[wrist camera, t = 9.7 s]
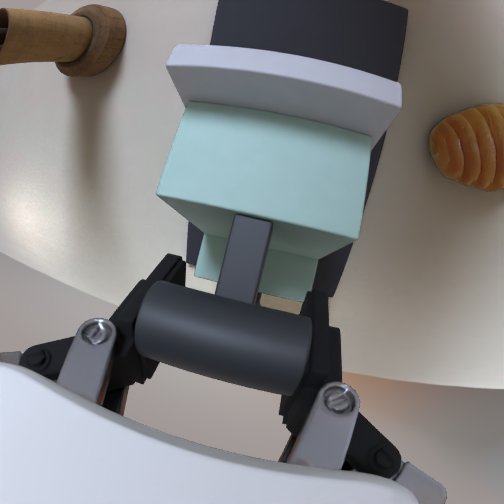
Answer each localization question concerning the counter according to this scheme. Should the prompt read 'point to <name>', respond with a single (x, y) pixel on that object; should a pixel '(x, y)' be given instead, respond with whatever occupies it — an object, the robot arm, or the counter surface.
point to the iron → (260, 204)
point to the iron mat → (321, 48)
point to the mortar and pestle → (63, 38)
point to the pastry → (471, 146)
